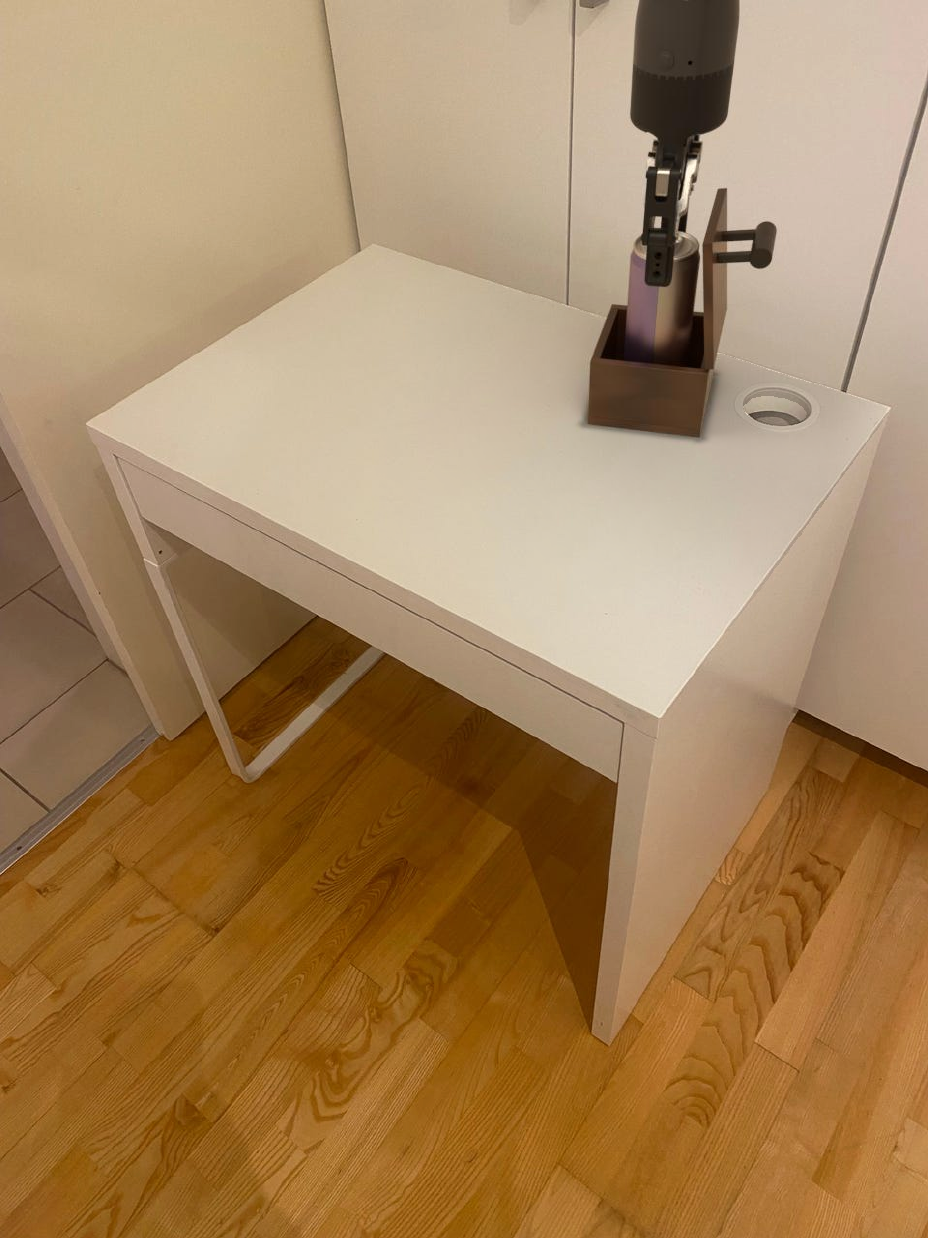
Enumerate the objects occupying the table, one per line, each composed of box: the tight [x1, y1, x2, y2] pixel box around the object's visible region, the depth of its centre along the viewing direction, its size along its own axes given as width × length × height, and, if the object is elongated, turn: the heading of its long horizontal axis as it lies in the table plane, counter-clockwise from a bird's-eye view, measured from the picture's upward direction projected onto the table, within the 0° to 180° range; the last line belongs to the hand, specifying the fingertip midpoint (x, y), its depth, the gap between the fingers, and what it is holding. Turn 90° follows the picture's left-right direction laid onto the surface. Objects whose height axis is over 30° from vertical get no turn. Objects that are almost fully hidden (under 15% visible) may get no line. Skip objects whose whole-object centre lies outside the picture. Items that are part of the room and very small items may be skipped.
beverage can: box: [624, 231, 701, 367], centre depth 88 cm, size 6×6×15 cm
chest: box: [587, 303, 715, 438], centre depth 91 cm, size 11×11×7 cm
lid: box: [701, 187, 778, 370], centre depth 83 cm, size 11×11×5 cm
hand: (665, 260), depth 84 cm, fingers open, 8 cm apart
